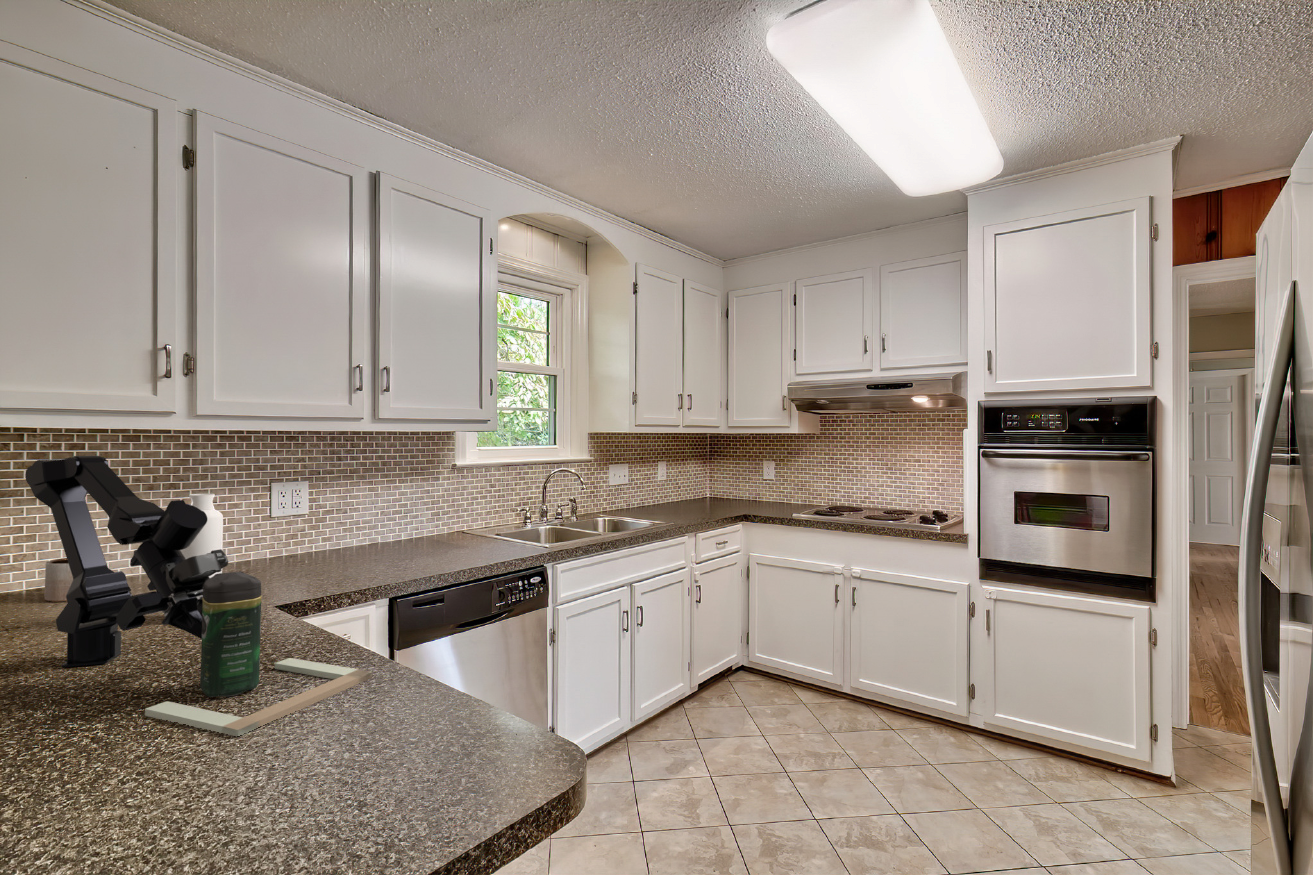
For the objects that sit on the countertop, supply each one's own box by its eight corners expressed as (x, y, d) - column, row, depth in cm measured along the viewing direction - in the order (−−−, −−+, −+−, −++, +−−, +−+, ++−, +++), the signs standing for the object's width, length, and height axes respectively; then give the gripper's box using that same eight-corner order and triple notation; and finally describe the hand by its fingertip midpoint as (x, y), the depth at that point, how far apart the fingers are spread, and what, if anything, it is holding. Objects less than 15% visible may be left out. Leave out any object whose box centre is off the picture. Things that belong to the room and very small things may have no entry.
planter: (53, 595, 165) (54, 557, 165) (107, 591, 170) (108, 555, 170) (36, 604, 156) (37, 565, 156) (94, 600, 161) (95, 561, 161)
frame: (144, 715, 94) (145, 708, 94) (289, 663, 116) (289, 657, 116) (237, 737, 87) (238, 729, 87) (372, 677, 110) (372, 671, 110)
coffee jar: (264, 690, 103) (266, 575, 104) (204, 703, 98) (207, 582, 98) (252, 673, 111) (255, 566, 111) (196, 684, 105) (199, 571, 106)
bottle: (176, 617, 145) (178, 493, 146) (219, 611, 151) (221, 492, 151) (179, 625, 139) (181, 496, 140) (223, 618, 145) (226, 494, 145)
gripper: (129, 544, 99) (176, 622, 95) (243, 529, 117) (287, 595, 113) (95, 591, 102) (141, 669, 98) (212, 570, 120) (254, 635, 116)
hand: (211, 639), depth 106 cm, fingers closed, pressing on coffee jar
